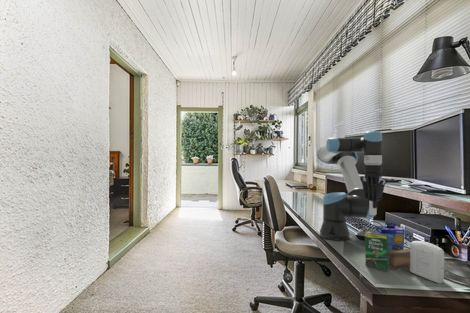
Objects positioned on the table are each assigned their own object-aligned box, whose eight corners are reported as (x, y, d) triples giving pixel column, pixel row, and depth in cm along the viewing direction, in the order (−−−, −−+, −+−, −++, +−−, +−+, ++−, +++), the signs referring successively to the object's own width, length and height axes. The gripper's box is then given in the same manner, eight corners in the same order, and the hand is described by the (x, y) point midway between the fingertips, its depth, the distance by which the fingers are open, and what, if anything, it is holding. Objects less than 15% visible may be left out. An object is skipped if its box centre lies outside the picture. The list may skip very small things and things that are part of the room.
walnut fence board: (389, 267, 100) (389, 251, 100) (426, 260, 106) (426, 246, 106) (394, 269, 98) (394, 254, 98) (432, 263, 104) (432, 248, 104)
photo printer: (446, 282, 88) (446, 246, 88) (439, 284, 86) (439, 248, 86) (415, 270, 98) (415, 237, 98) (407, 272, 96) (408, 239, 96)
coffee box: (364, 265, 102) (364, 232, 102) (366, 263, 104) (366, 230, 104) (387, 271, 97) (387, 236, 97) (389, 268, 99) (389, 234, 99)
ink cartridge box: (381, 257, 110) (381, 223, 110) (374, 252, 115) (374, 220, 115) (405, 257, 109) (405, 223, 109) (397, 253, 115) (397, 220, 115)
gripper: (355, 164, 126) (355, 212, 126) (378, 164, 113) (378, 218, 113) (368, 164, 128) (368, 211, 128) (391, 164, 116) (391, 217, 116)
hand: (372, 214), depth 121 cm, fingers closed
